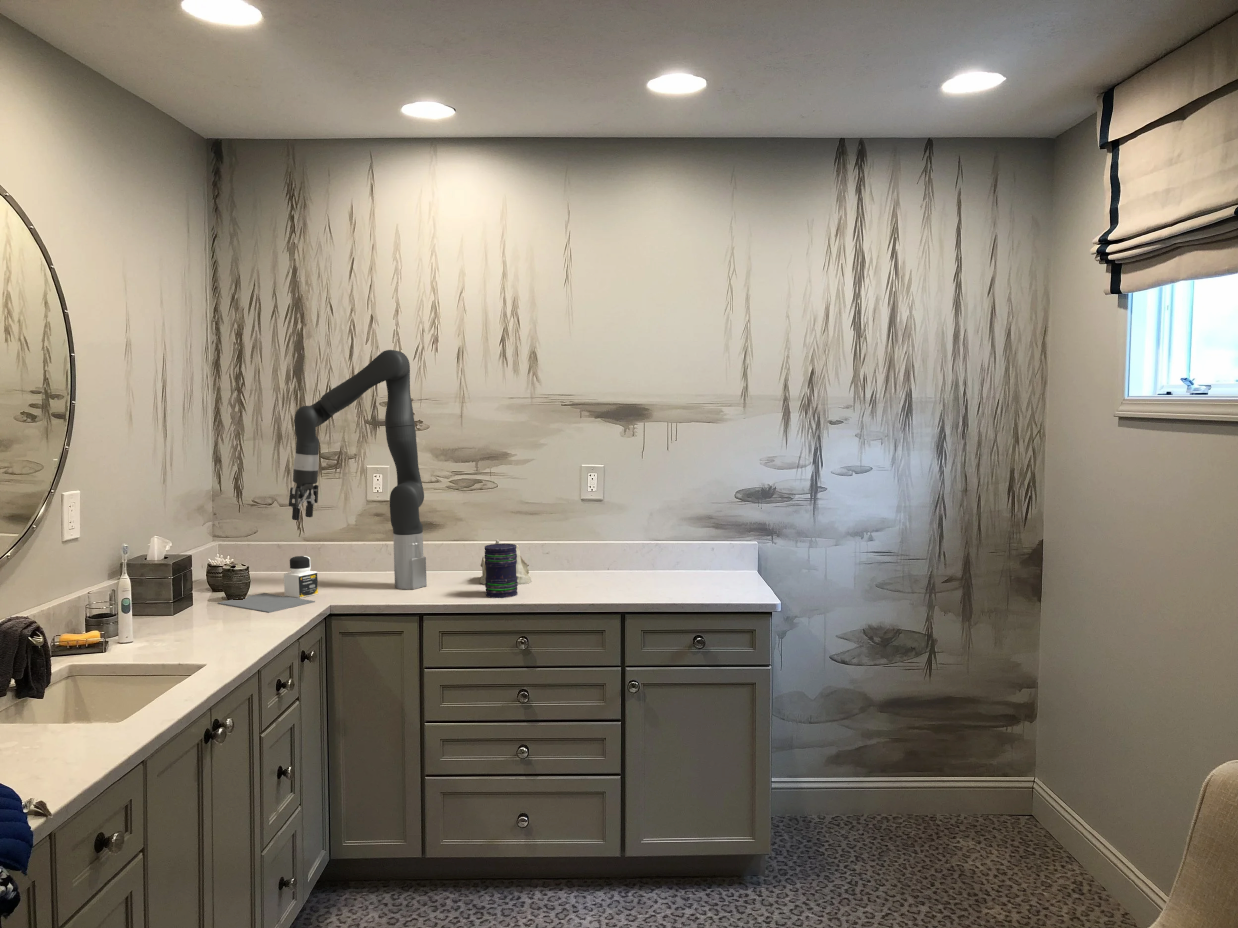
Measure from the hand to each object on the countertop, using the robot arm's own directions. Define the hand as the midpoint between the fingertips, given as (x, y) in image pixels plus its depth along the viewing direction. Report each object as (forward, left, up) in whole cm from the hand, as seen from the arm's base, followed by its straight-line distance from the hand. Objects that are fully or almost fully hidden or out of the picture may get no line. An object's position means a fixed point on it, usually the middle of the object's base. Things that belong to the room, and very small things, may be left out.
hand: (302, 518), depth 302 cm
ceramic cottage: (-50, -39, -23) cm, 68 cm away
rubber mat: (-9, +21, -22) cm, 32 cm away
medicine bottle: (-9, +9, -22) cm, 26 cm away
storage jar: (-63, -22, -22) cm, 71 cm away
